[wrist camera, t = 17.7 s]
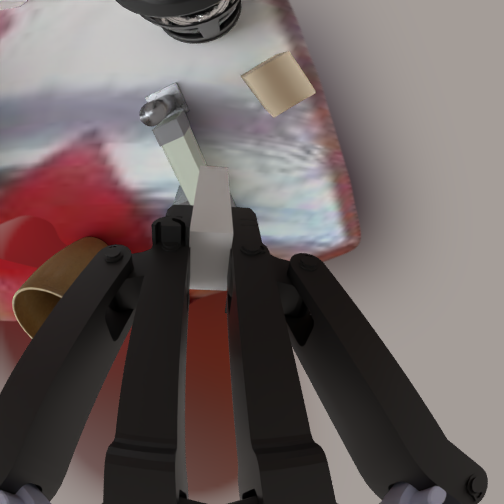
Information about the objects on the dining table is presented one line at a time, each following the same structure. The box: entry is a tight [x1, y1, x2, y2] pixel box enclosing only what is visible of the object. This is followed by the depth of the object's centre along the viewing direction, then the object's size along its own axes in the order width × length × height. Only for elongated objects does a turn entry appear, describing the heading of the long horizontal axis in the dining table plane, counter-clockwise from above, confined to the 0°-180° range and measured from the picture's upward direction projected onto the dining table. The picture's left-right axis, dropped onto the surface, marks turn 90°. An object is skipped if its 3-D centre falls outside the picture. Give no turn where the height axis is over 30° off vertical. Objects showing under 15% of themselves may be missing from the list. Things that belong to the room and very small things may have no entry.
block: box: [241, 51, 316, 118], centre depth 26 cm, size 5×5×7 cm
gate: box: [152, 111, 207, 205], centre depth 31 cm, size 13×3×6 cm, turn 19°
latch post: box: [140, 83, 189, 126], centre depth 26 cm, size 4×4×8 cm
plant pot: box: [12, 237, 108, 339], centre depth 34 cm, size 15×15×16 cm
